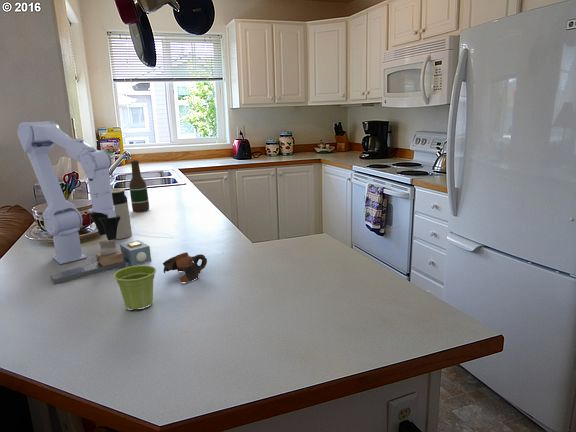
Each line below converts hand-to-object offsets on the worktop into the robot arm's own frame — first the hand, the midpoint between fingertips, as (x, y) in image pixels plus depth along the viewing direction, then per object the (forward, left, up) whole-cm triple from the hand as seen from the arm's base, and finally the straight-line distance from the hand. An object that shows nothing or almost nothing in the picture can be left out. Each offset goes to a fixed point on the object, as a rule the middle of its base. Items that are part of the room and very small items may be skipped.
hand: (107, 237), depth 127 cm
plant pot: (+33, -4, -10) cm, 35 cm away
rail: (0, -6, -9) cm, 11 cm away
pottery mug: (+25, +12, -10) cm, 29 cm away
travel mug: (-31, +14, -10) cm, 35 cm away
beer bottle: (-69, +37, -10) cm, 79 cm away
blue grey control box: (0, +8, -9) cm, 12 cm away
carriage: (0, 0, -8) cm, 8 cm away
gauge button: (0, +8, -7) cm, 11 cm away
